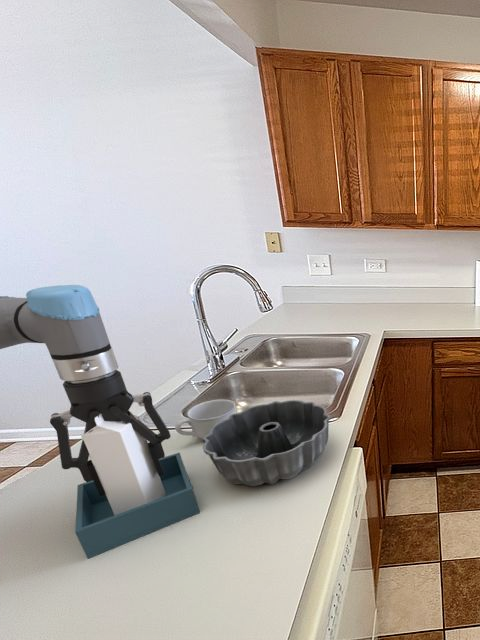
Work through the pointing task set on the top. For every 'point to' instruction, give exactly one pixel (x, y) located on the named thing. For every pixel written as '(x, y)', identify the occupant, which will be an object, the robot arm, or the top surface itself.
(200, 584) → the top surface
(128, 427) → the milk
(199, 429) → the teacup
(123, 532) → the tote
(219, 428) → the bundt pan
